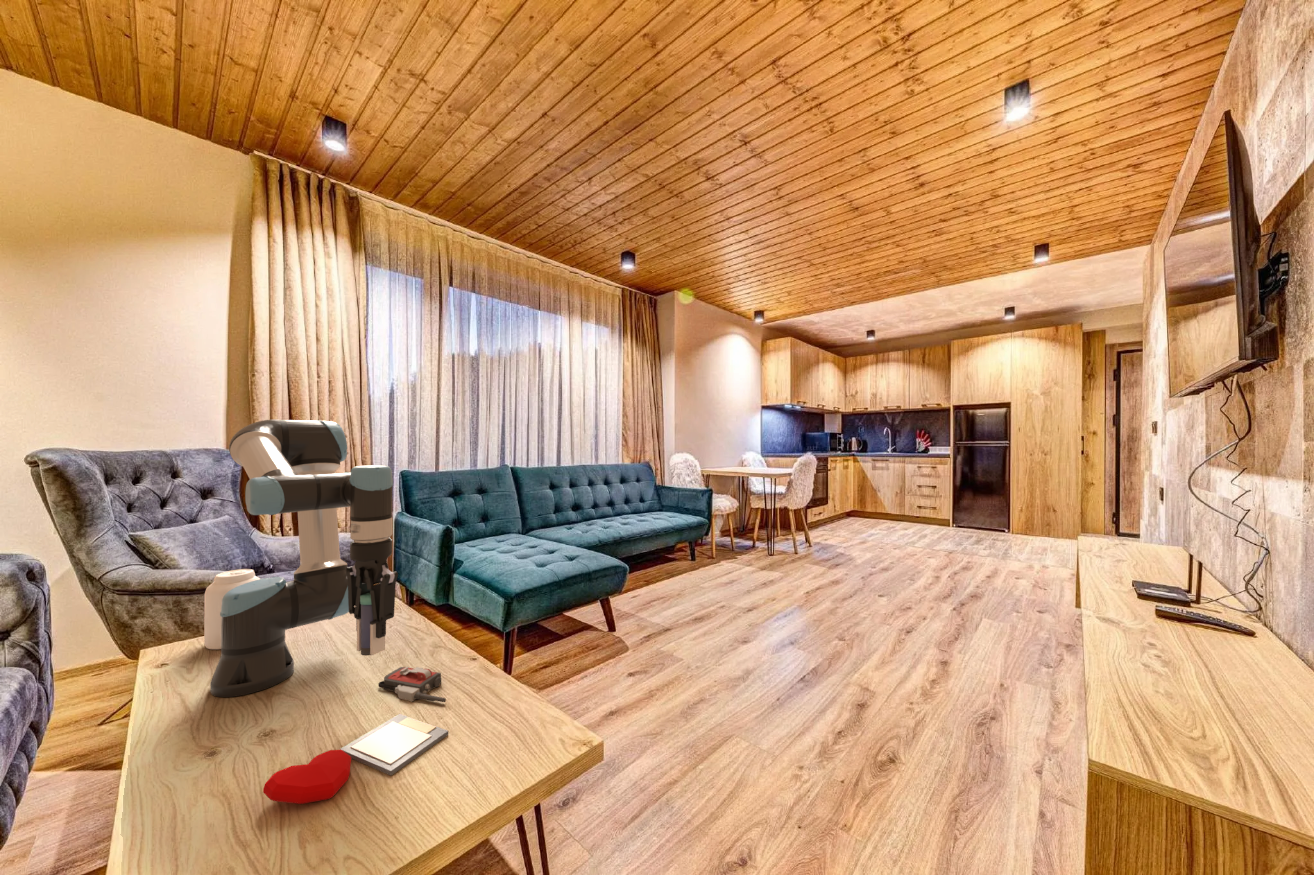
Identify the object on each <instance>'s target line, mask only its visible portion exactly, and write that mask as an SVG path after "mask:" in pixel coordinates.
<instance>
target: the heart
mask: <svg viewBox="0 0 1314 875" xmlns="http://www.w3.org/2000/svg"><path fill="white" fill-rule="evenodd" d="M351 764H352V759H351V756H349V755H348V754H347V753H345V752H344V751H343V750H340V749H330V750H327V751H324V752H323V753H319V754H318V755H316V756H314V757H313V758H312V759H311V760H310V761H309V763H306V764H297V765H290V766H288V767H286V768H283V769H281V770H277V771H276V772H275V773H273V774H272V775H271V776H270V777H269V778H268V780H267V781H266V782H265V783H264V786H263V791H262V793H263V794H264V795H266V797H267V798H268V799H269V800H271V801H273V802H278V803H279V802H280V803H287V804H299V805H303V804H308V803H313V802H319V801H326V800H330V799H331V798H333V797H334V795H336V794H337V793H338V792H339V790H340V789H341V788H342V787H344V786H345V784H346V783H347V781H349V777H350V773H351V772H350V771H351Z"/></svg>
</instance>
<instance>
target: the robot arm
mask: <svg viewBox="0 0 1314 875" xmlns="http://www.w3.org/2000/svg"><path fill="white" fill-rule="evenodd" d="M347 441H348V440H347V437H346V435H345V432H344V430H343V428H342V426H341V425H340V424H339V423H337V422H335V421H329V420H328V421H327V420H322V419H318V420H314V419H312V420H310V419H309V420H306V419H303V420H301V419H296V420H295V419H294V420H293V419H272V418H271V419H264V420H260V421H256V422H253V423H250V424H248V425H246V426H243V427H242V428H240V429H239V430H237V432H235V434H234V435H233V436H232V437H231V439H230V441H229V444H228V452H229V454H230V456H231V458H232V460H233V461H234V462H235V463H236V464H237V465H239V466H241V467H242V468H243V469H244V471H245V472H246V475H247V477H248V479H249V480H248V481H247V482H246V485H245V505H246V510H247V512H248V513H249V514H250V515H251V516H262V515H269V516H273V515H281V514H289V513H290V514H291V513H297V521H298V522H297V523H298V540H299V541H298V544H299V546H298V547H299V560H300V562H299V563H300V564H299V567H298V568H297V569H296V570H295V571H293V580H289V581H287V579H285V577H283V576H271V577H265V578H260V579H259V580H255V581H252V582H248V583H245V584H243V585H240V586H238V587H235V588H233V589H232V590H230V591H228V592H227V593H226V594H225V595H224V597H223V599H222V607H221V612H220V616H221V617H222V624H221V649H220V657H219V659H218V662H217V665H216V667H215V669H214V672H213V675H212V678H211V680H210V686H209V687H210V688H209V689H210V690H209V691H210V694H211V695H212V696H214V697H217V698H218V697H219V698H232V697H240V696H246V695H249V694H253V693H257V692H261V691H263V690H266V689H268V688H271V687H274V686H277V685H278V684H280V683H282V682H284V681H286V680H287V679H288V678H290V677H291V676H292V675H293V674H294V671H295V662H294V658H293V656H292V653H291V651H290V649H289V647H288V645H287V642H286V631H287V630H290V629H295V628H297V627H298V628H299V627H302V626H306V625H307V626H308V625H311V624H314V623H319V622H323V621H327V620H328V621H329V620H332V619H333V618H338V617H341V616H344V615H347V614H348V613H349V614H350V615H352V614H353V617H354V618H355V619H356V621H355V622H356V624H355V625H356V626H355V627H356V651H357V652H361V604H360V596H361V595H363V594H366V593H369V592H370V595H371V604H372V613H373V621H371V622H370V655H369V656H374V655H376V654H380V653H381V652H383V651H385V650H386V634H387V621H388V620H390V619H393V618H394V617H395V608H396V606H395V604H396V602H395V601H396V582H397V581H398V580H397V579H398V576H399V573H398V572H397V571H396V570H395V571H391V570H390V568H389V564H388V558H389V557H390V556H391V555H392V554H393V539H392V538H391V536H392V535H393V486H394V480H393V470H392V468H391V467H390V466H388V465H382V464H381V465H380V464H376V465H375V464H374V465H371V464H369V465H356V466H354V467H352V468H351V470H350V471H345V472H343V473H341V472H339V473H336V471H337V470H339V469H340V468H341V462H344V461H345V460H346V459H347V456H348V443H347ZM340 508H350V510H349V512H350V518H349V519H350V527H349V530H350V534H349V535H350V540H352V541H351V542H350V543H349V558H350V560H351V561H353V562H354V565H353V566H352V565H351V566H348V563H347V562H346V561H344V560H343V559H341V552H340V535H339V521H338V509H340Z"/></svg>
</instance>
